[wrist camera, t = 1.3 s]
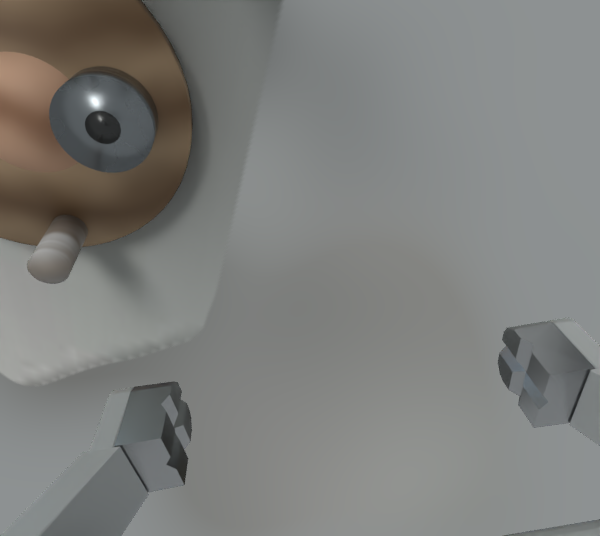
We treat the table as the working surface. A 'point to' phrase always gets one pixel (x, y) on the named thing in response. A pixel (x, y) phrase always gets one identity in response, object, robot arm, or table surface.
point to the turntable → (47, 151)
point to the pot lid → (104, 119)
